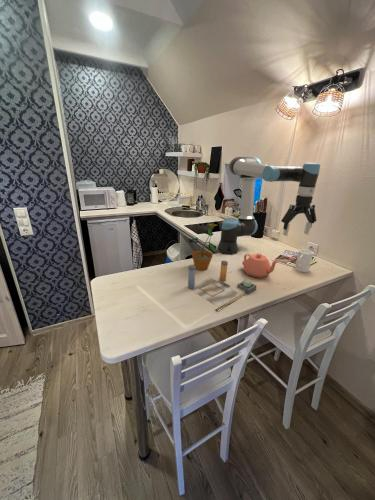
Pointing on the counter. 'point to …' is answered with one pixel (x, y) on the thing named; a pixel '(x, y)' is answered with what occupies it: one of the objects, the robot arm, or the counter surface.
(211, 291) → the clipboard
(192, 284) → the blue marker
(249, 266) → the teapot
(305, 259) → the mug
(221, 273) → the orange marker
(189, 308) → the counter surface
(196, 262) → the potted plant
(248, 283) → the button
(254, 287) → the button base
